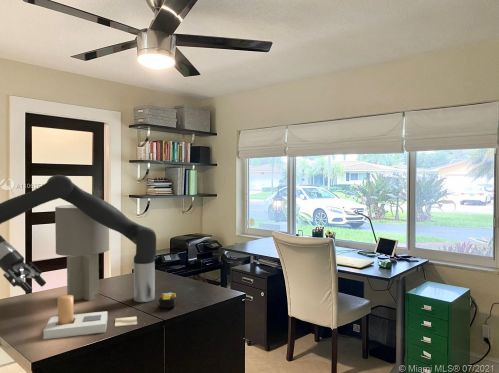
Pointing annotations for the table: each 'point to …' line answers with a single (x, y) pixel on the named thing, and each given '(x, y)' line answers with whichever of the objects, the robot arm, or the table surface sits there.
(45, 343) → the table surface
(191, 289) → the table surface
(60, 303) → the plug
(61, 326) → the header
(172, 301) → the pot of gold
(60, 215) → the lamp
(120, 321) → the pad
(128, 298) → the table surface
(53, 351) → the table surface
